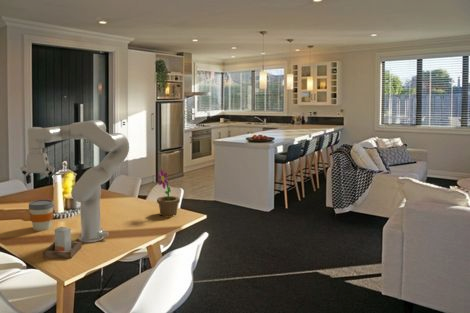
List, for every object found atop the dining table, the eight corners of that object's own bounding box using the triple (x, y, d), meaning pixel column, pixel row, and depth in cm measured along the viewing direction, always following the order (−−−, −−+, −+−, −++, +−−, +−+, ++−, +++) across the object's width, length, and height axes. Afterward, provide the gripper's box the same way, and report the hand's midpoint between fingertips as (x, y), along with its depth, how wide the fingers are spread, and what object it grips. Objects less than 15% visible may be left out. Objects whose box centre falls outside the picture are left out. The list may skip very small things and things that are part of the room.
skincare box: (55, 253, 185) (53, 229, 183) (62, 250, 189) (60, 226, 187) (65, 255, 182) (64, 230, 181) (71, 251, 186) (70, 228, 185)
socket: (81, 247, 192) (81, 241, 191) (71, 258, 179) (70, 252, 179) (55, 247, 192) (55, 241, 191) (43, 257, 179) (42, 251, 178)
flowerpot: (152, 213, 250) (152, 168, 245) (171, 209, 259) (171, 165, 255) (165, 219, 239) (164, 171, 235) (184, 214, 249) (184, 168, 245)
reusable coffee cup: (40, 223, 227) (38, 198, 224) (59, 225, 224) (58, 200, 222) (24, 230, 215) (23, 204, 212) (44, 232, 212) (43, 206, 210)
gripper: (56, 150, 205) (58, 182, 207) (23, 149, 204) (25, 181, 207) (50, 152, 197) (51, 185, 200) (15, 151, 197) (17, 184, 199)
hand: (38, 183), depth 203 cm, fingers open, 9 cm apart
